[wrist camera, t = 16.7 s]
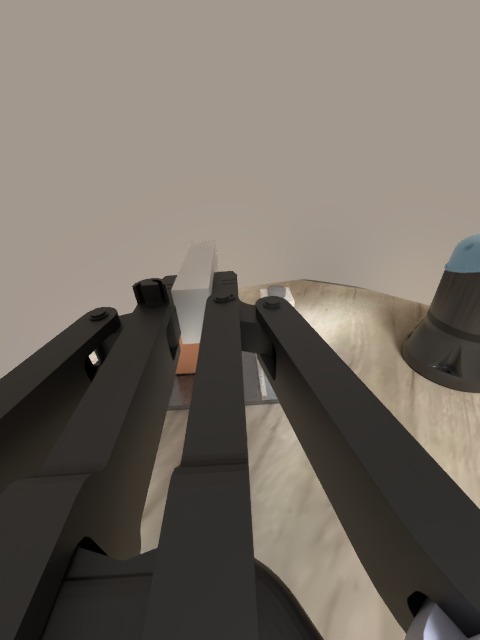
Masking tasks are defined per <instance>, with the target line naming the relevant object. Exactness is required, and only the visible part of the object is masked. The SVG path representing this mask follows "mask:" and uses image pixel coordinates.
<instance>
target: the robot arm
mask: <svg viewBox="0 0 480 640" xmlns="http://www.w3.org/2000/svg"><path fill="white" fill-rule="evenodd" d="M132 287H133V290H134V294H135V297H136V300H137V303H138V305H137V306H136V308H135V310H134V311H133V313H130V314H125V315H121V316H119V315H118V313H117V311H116V309H114V308H111V307H101V308H96V309H94V310H92V311H90V312H88V313H86V314H85V315H83V316H82V317H81V318H79V319H78V320H77V321H76V322H75V323H73V324H72V325H70V326H69V327H68V328H66V329H65V330H64V331H63V332H61V333H60V334H59V335H57V336H56V337H55V338H53V339H52V340H51V341H50V342H48V343H47V344H46V345H44V346H43V347H42V348H40V349H39V350H38V351H36V352H35V353H34V354H33V355H31V356H30V357H29V358H27V359H26V360H25V361H23V362H22V363H21V364H20V365H18V366H17V367H16V368H14V369H13V370H12V371H10V372H9V373H8V374H7V375H5V376H4V377H3V378H1V379H0V640H324V639H323V637H322V636H321V635H320V633H319V632H318V630H317V629H316V627H315V626H314V624H313V623H312V621H311V620H310V618H309V617H308V615H307V614H306V612H305V611H304V609H303V608H302V606H301V605H300V603H299V602H298V600H297V599H296V598H295V596H294V595H293V593H292V592H291V591H290V589H289V588H288V587H287V586H286V585H285V584H284V582H283V581H282V580H281V579H280V578H279V577H278V576H277V575H276V574H275V573H274V572H273V571H272V570H271V569H269V568H268V567H267V566H266V565H264V564H263V563H261V562H260V561H258V560H257V559H255V558H254V549H253V533H252V516H251V500H250V483H249V466H248V449H247V433H246V416H245V399H244V383H243V366H242V351H245V352H251V353H256V354H257V359H258V361H259V363H260V365H261V367H262V369H263V371H264V373H265V375H266V377H267V379H268V381H269V383H270V385H271V387H272V389H273V391H274V392H275V394H276V396H277V398H278V400H279V402H280V404H281V406H282V408H283V410H284V412H285V414H286V416H287V418H288V420H289V422H290V424H291V426H292V428H293V430H294V432H295V434H296V436H297V438H298V440H299V442H300V444H301V446H302V448H303V449H304V451H305V453H306V455H307V457H308V459H309V461H310V463H311V465H312V467H313V469H314V471H315V473H316V475H317V477H318V479H319V481H320V483H321V485H322V487H323V489H324V491H325V493H326V495H327V497H328V499H329V501H330V503H331V504H332V506H333V508H334V510H335V512H336V514H337V516H338V518H339V520H340V522H341V524H342V526H343V528H344V530H345V532H346V534H347V536H348V538H349V540H350V542H351V544H352V546H353V548H354V550H355V552H356V554H357V556H358V558H359V559H360V561H361V563H362V565H363V567H364V568H365V570H366V572H367V574H368V576H369V577H370V579H371V581H372V583H373V585H374V586H375V588H376V590H377V591H378V593H379V594H380V596H381V598H382V599H383V601H384V602H385V604H386V605H387V607H388V608H389V610H390V611H391V613H392V614H393V616H394V617H395V619H396V620H397V622H398V623H399V625H400V626H401V627H402V629H403V630H404V631H405V633H406V637H405V640H480V509H479V508H478V507H477V506H476V505H475V504H474V503H473V501H472V500H471V499H470V498H469V497H468V496H467V495H466V494H465V493H464V492H463V491H462V489H461V488H460V487H459V486H458V485H457V484H456V483H455V482H454V481H453V480H452V479H451V478H450V476H449V475H448V474H447V473H446V472H445V471H444V470H443V469H442V468H441V467H440V466H439V465H438V463H437V462H436V461H435V460H434V459H433V458H432V457H431V456H430V455H429V454H428V453H427V451H426V450H425V449H424V448H423V447H422V446H421V445H420V444H419V443H418V442H417V441H416V440H415V438H414V437H413V436H412V435H411V434H410V433H409V432H408V431H407V430H406V429H405V428H404V427H403V425H402V424H401V423H400V422H399V421H398V420H397V419H396V418H395V417H394V416H393V415H392V413H391V412H390V411H389V410H388V409H387V408H386V407H385V406H384V405H383V404H382V403H381V402H380V400H379V399H378V398H377V397H376V396H375V395H374V394H373V393H372V392H371V391H370V390H369V389H368V387H367V386H366V385H365V384H364V383H363V382H362V381H361V380H360V379H359V378H358V377H357V375H356V374H355V373H354V372H353V371H352V370H351V369H350V368H349V367H348V366H347V365H346V364H345V362H344V361H343V360H342V359H341V358H340V357H339V356H338V355H337V354H336V353H335V352H334V351H333V349H332V348H331V347H330V346H329V345H328V344H327V343H326V342H325V341H324V340H323V339H322V337H321V336H320V335H319V334H318V333H317V332H316V331H315V330H314V329H313V328H312V327H311V326H310V324H309V323H308V322H307V321H306V320H305V319H304V318H303V317H302V316H301V315H300V314H299V313H298V311H297V310H296V309H295V308H294V307H293V306H292V305H291V304H290V303H289V302H288V301H287V300H286V299H284V298H281V297H278V296H267V297H263V298H260V299H259V300H257V302H256V304H255V305H249V304H246V303H243V302H242V301H240V300H239V298H238V286H237V274H235V273H234V272H233V271H227V272H219V271H218V260H217V251H216V241H204V242H203V241H202V242H191V243H190V246H189V248H188V251H187V253H186V256H185V258H184V261H183V263H182V265H181V268H180V270H179V272H178V275H173V276H165V277H164V278H163V279H159V278H151V279H145V280H142V281H139V282H137V283H135V284H134V285H133V286H132ZM180 336H181V339H182V343H183V344H194V343H200V345H199V352H198V358H197V365H196V371H195V377H194V384H193V390H192V397H191V403H190V410H189V416H188V422H187V429H186V435H185V442H184V448H183V455H182V460H181V463H180V466H178V467H176V468H175V469H174V471H173V473H172V476H171V480H170V484H169V489H168V494H167V500H166V505H165V511H164V516H163V522H162V528H161V533H160V539H159V544H158V548H156V549H153V550H151V551H148V552H146V553H143V554H140V550H141V535H140V525H141V518H142V514H143V509H144V505H145V501H146V497H147V492H148V488H149V484H150V480H151V475H152V471H153V467H154V463H155V458H156V454H157V450H158V446H159V442H160V437H161V433H162V429H163V425H164V420H165V416H166V412H167V408H168V403H169V399H170V395H171V391H172V386H173V382H174V378H175V374H176V369H177V365H178V361H179V357H180V352H181V348H180V343H179V339H180ZM93 351H95V354H96V356H97V358H98V361H97V362H96V363H95V364H94V365H93V364H92V362H91V360H90V358H89V355H90V354H91V353H92V352H93ZM402 355H403V357H404V359H405V361H406V362H407V363H408V364H409V365H410V366H411V367H412V368H413V369H414V370H415V371H416V372H418V373H419V374H421V375H422V376H424V377H425V378H427V379H429V380H431V381H433V382H435V383H437V384H440V385H442V386H445V387H448V388H451V389H455V390H459V391H464V392H473V393H480V234H477V235H473V236H470V237H467V238H465V239H464V240H462V241H461V242H459V243H458V244H457V246H456V247H455V249H454V251H453V253H452V255H451V257H450V259H449V261H448V263H447V264H446V265H445V271H444V274H443V276H442V279H441V281H440V284H439V286H438V289H437V291H436V294H435V296H434V299H433V301H432V303H431V305H430V308H429V311H428V313H427V315H426V317H425V318H424V319H423V320H422V321H421V322H420V323H419V324H418V326H417V327H416V328H415V329H414V331H412V332H411V333H410V334H409V335H408V336H407V337H406V339H405V341H404V344H403V347H402Z"/></svg>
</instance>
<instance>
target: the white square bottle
mask: <svg viewBox="0 0 480 640" xmlns="http://www.w3.org/2000/svg"><path fill="white" fill-rule="evenodd" d="M267 296H278V297H281V298H284V299H286V300H287V301H288V302H289V303H290V304H291V305H292V306H293V307H294V304H295V301H294V298H293V296H292V294H291V292H290V290H289V288H288V287H287V288H285V287H283V286H278V285H275V286H270V287H269V288H268V289H260V298H263V297H267Z"/></svg>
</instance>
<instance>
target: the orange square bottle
mask: <svg viewBox="0 0 480 640" xmlns="http://www.w3.org/2000/svg"><path fill="white" fill-rule="evenodd" d="M179 343H180V348H181V352H180V357H179V361H178V365H177V369H176V374H185V373H195V371H196V365H197V358H198V352H199V345H200V343H194V344H183V343H182V339H181V336H180V339H179Z"/></svg>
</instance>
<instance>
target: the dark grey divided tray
mask: <svg viewBox="0 0 480 640" xmlns="http://www.w3.org/2000/svg"><path fill="white" fill-rule="evenodd" d="M242 366H243V383H244V399H245V405H260V404H276V403H280V402H279V400H278V398H277V396H276V394H275V392H274V391H273V389H272V387H271V385H270V383H269V381H268V379H267V377H266V375H265V373H264V371H263V369H262V367H261V365H260V363H259V361H258V359H257V354H256V353H251V352H245V351H242ZM194 377H195V373H185V374H175V378H174V382H173V386H172V391H171V395H170V399H169V403H168V408H167V410H180V409H190V403H191V397H192V390H193V384H194Z"/></svg>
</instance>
